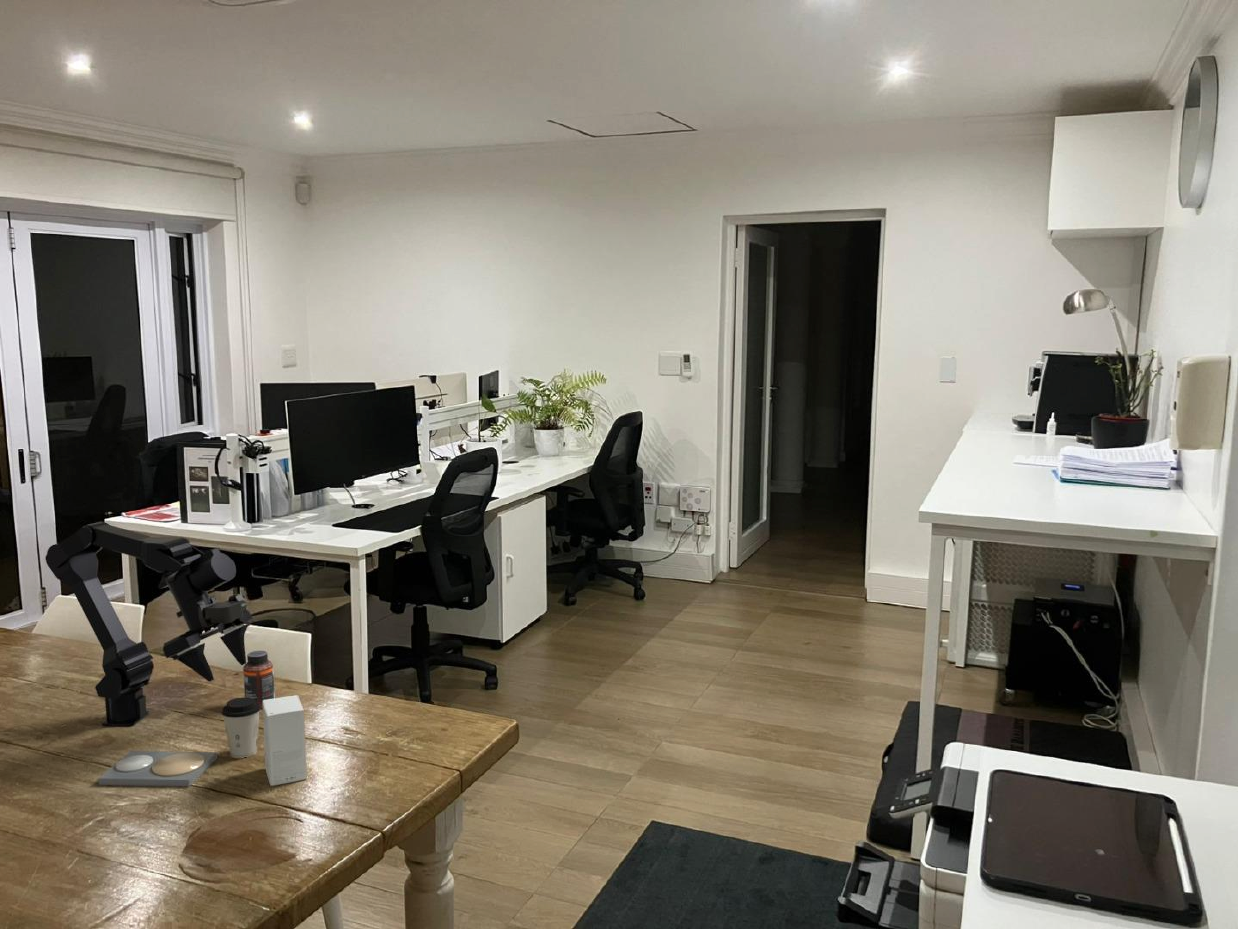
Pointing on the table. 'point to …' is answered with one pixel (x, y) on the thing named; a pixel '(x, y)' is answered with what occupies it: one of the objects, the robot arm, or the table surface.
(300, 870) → the table surface
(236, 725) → the coffee cup
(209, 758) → the slate board
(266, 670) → the supplement bottle
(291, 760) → the small box
